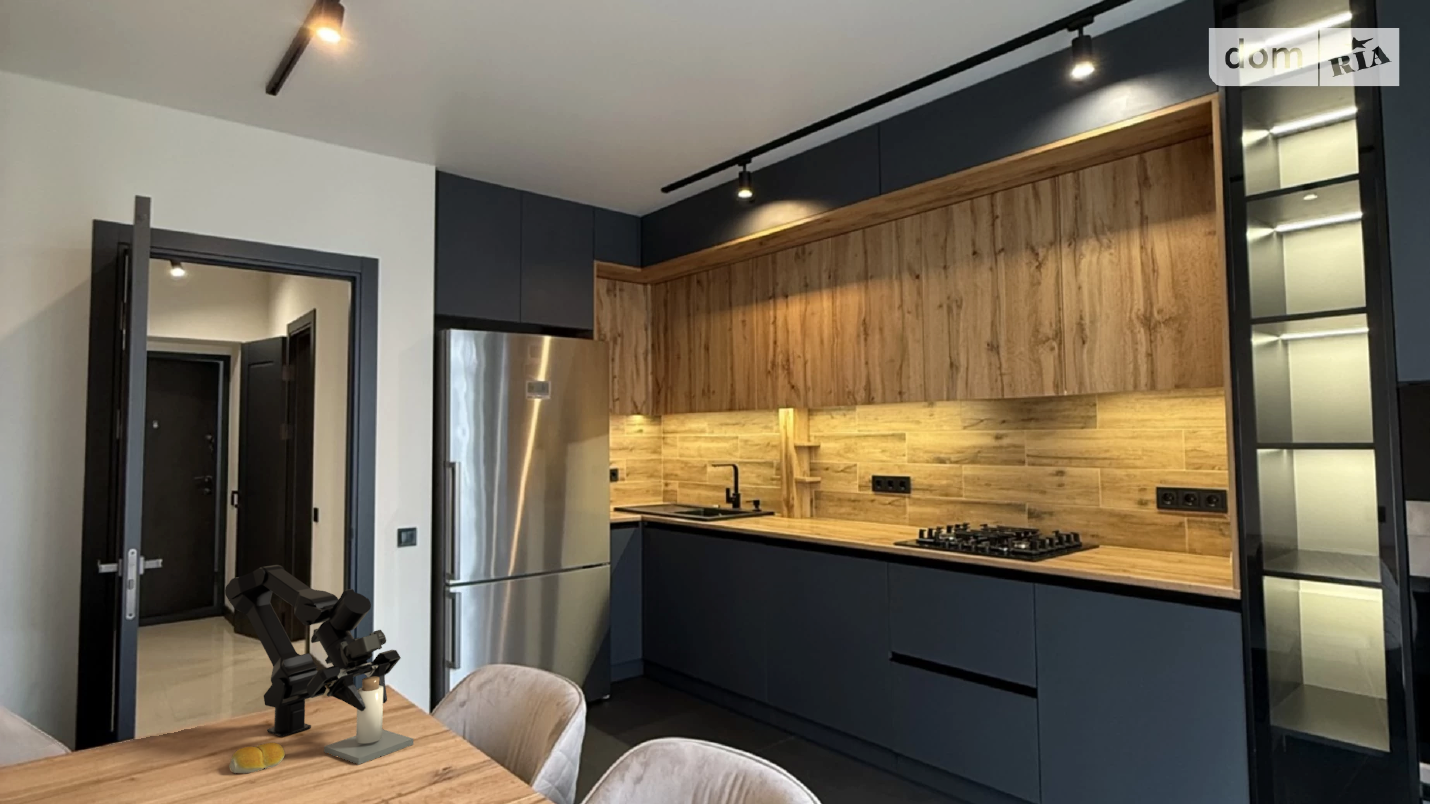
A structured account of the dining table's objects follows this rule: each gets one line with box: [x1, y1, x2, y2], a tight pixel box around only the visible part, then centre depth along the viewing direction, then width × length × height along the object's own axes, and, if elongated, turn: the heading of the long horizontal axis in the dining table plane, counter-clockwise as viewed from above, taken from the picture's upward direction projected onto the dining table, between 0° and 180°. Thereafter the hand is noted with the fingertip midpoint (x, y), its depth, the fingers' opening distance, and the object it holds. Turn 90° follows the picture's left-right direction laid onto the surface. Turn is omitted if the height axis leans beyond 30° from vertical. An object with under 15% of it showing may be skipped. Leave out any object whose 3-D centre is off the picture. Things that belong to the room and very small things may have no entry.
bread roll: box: [228, 742, 285, 774], centre depth 144 cm, size 8×9×4 cm
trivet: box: [323, 728, 414, 766], centre depth 152 cm, size 12×12×1 cm
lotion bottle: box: [355, 676, 384, 743], centre depth 152 cm, size 5×5×12 cm
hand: (374, 705), depth 152 cm, fingers open, 5 cm apart
